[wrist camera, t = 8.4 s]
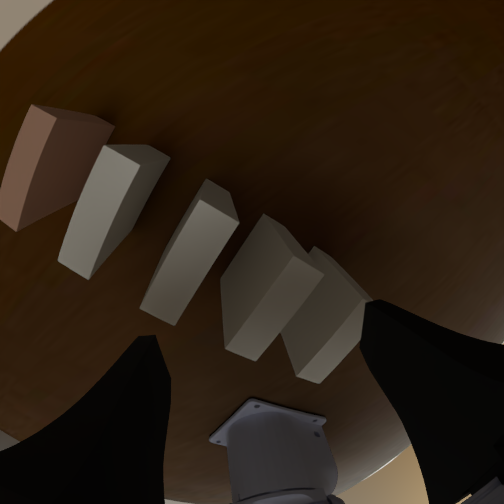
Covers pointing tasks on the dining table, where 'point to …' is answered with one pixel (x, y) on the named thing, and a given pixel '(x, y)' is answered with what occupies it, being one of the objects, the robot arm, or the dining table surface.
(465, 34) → the dining table surface
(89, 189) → the domino
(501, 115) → the dining table surface
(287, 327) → the domino
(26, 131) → the domino
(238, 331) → the domino
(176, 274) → the domino
